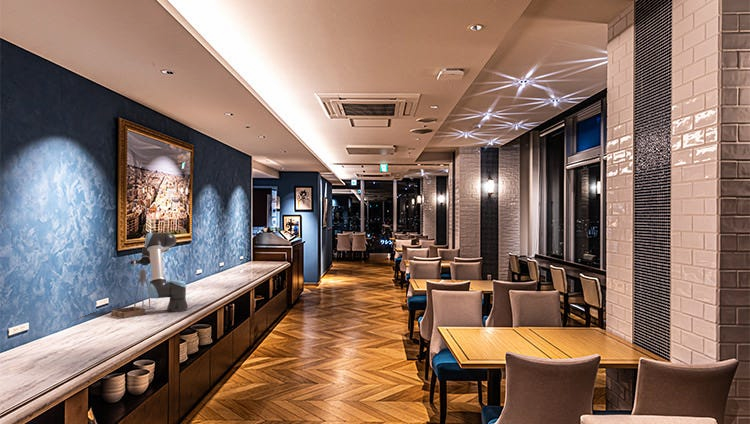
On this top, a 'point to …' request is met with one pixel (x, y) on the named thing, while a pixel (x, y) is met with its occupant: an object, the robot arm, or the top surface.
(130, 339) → the top surface
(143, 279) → the citrus juicer
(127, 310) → the holder frame
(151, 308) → the slate tile
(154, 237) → the robot arm
